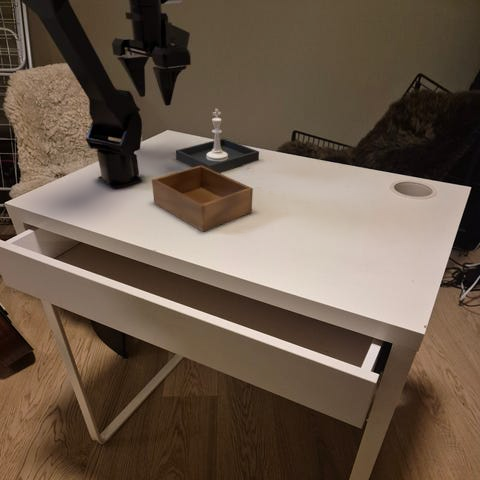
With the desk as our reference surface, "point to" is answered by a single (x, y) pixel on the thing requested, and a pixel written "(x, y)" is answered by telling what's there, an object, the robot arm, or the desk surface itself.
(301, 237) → the desk surface
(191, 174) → the wooden box
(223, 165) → the tray
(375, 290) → the desk surface
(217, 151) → the chess piece
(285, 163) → the desk surface
